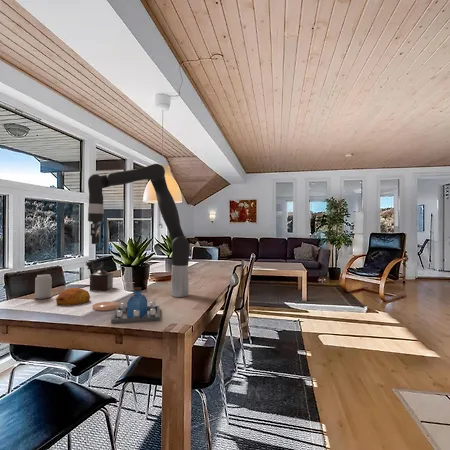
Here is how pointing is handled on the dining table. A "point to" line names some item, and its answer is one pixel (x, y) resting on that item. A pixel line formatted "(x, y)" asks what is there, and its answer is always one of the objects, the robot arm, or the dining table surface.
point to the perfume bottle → (137, 303)
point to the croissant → (73, 296)
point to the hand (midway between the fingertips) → (95, 243)
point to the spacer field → (135, 314)
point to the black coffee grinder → (100, 278)
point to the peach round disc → (105, 306)
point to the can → (43, 286)
